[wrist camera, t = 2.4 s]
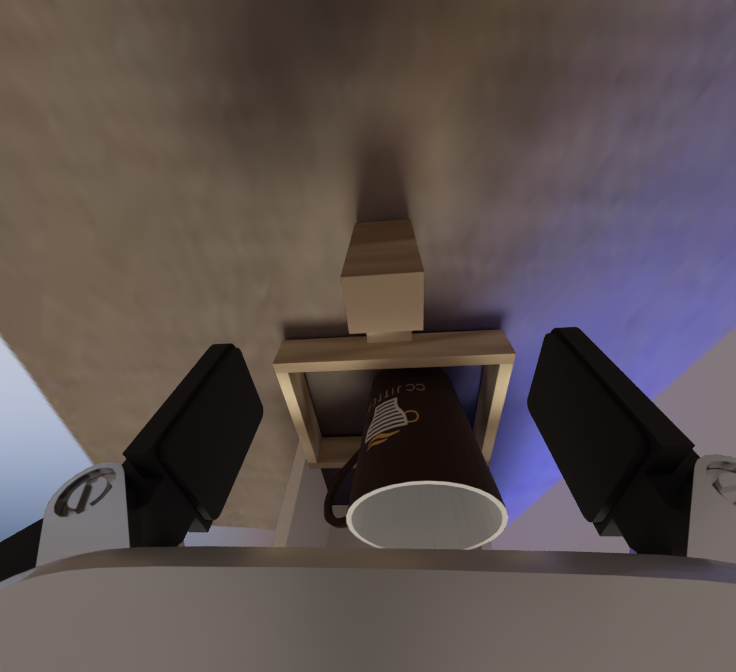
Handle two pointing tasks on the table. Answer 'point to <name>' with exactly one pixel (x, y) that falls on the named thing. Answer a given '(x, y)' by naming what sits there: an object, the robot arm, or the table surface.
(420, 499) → the coffee mug
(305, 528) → the cream open box
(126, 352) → the table surface
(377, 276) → the wooden drawer
